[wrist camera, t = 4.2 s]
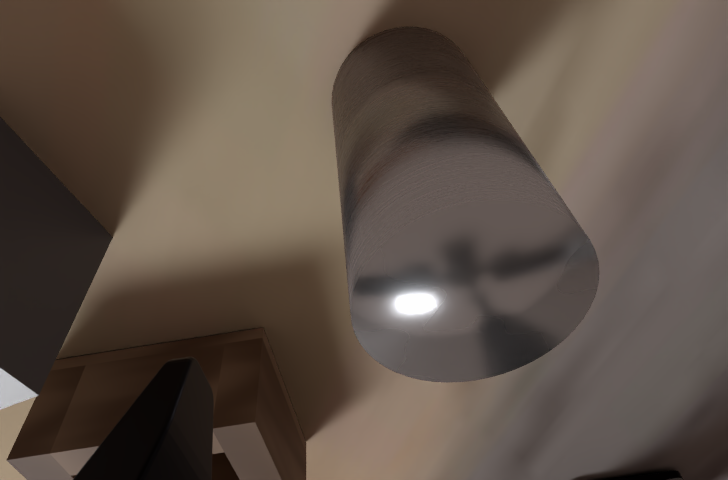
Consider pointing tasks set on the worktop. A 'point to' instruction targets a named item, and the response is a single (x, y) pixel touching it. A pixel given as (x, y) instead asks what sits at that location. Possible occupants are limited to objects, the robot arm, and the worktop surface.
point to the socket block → (130, 377)
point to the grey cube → (39, 266)
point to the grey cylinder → (448, 218)
